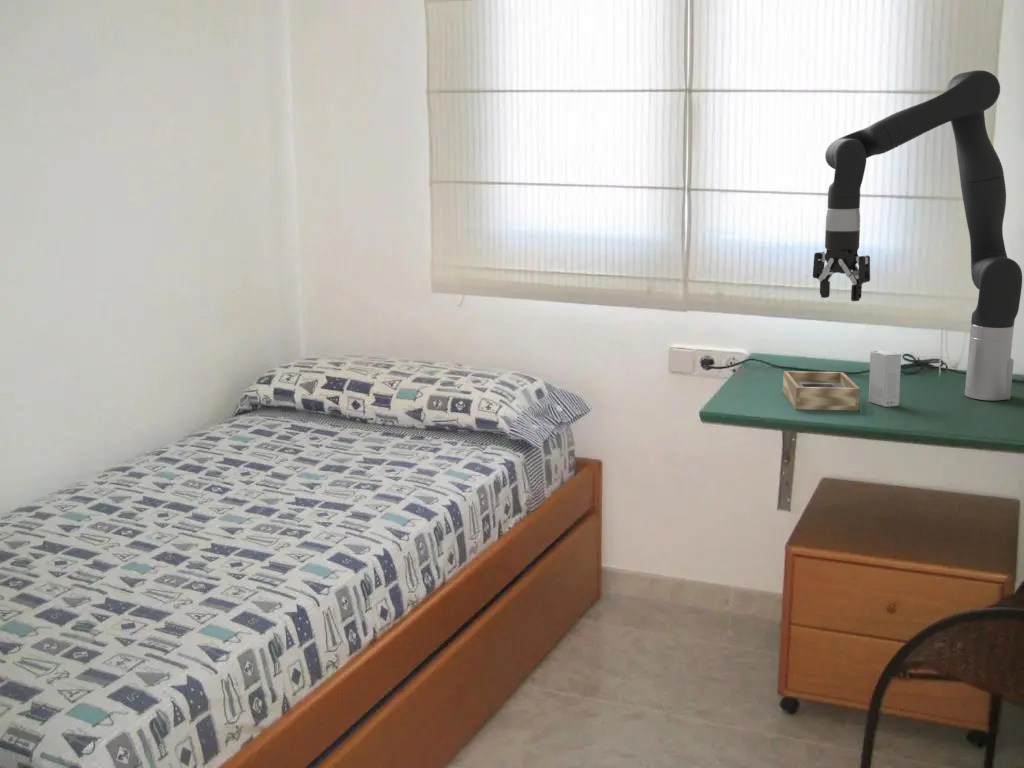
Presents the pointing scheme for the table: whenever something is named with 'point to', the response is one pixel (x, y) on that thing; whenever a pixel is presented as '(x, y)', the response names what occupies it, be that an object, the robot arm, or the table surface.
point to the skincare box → (884, 378)
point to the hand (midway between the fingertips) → (839, 299)
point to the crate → (821, 390)
